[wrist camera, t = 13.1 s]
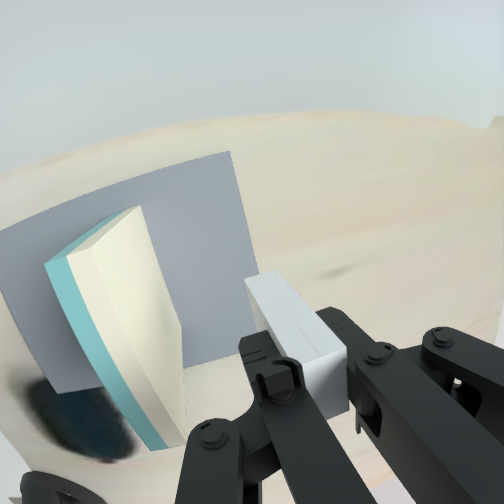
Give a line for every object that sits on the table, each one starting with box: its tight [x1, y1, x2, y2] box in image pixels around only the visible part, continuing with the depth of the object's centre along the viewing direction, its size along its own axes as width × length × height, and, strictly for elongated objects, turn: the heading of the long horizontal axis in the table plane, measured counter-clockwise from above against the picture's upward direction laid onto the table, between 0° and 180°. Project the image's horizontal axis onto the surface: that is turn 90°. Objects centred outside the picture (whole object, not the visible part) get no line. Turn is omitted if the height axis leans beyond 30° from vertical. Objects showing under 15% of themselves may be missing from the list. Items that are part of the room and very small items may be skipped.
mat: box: [0, 151, 259, 394], centre depth 22 cm, size 22×16×1 cm
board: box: [44, 205, 188, 451], centre depth 16 cm, size 2×10×12 cm, turn 14°
